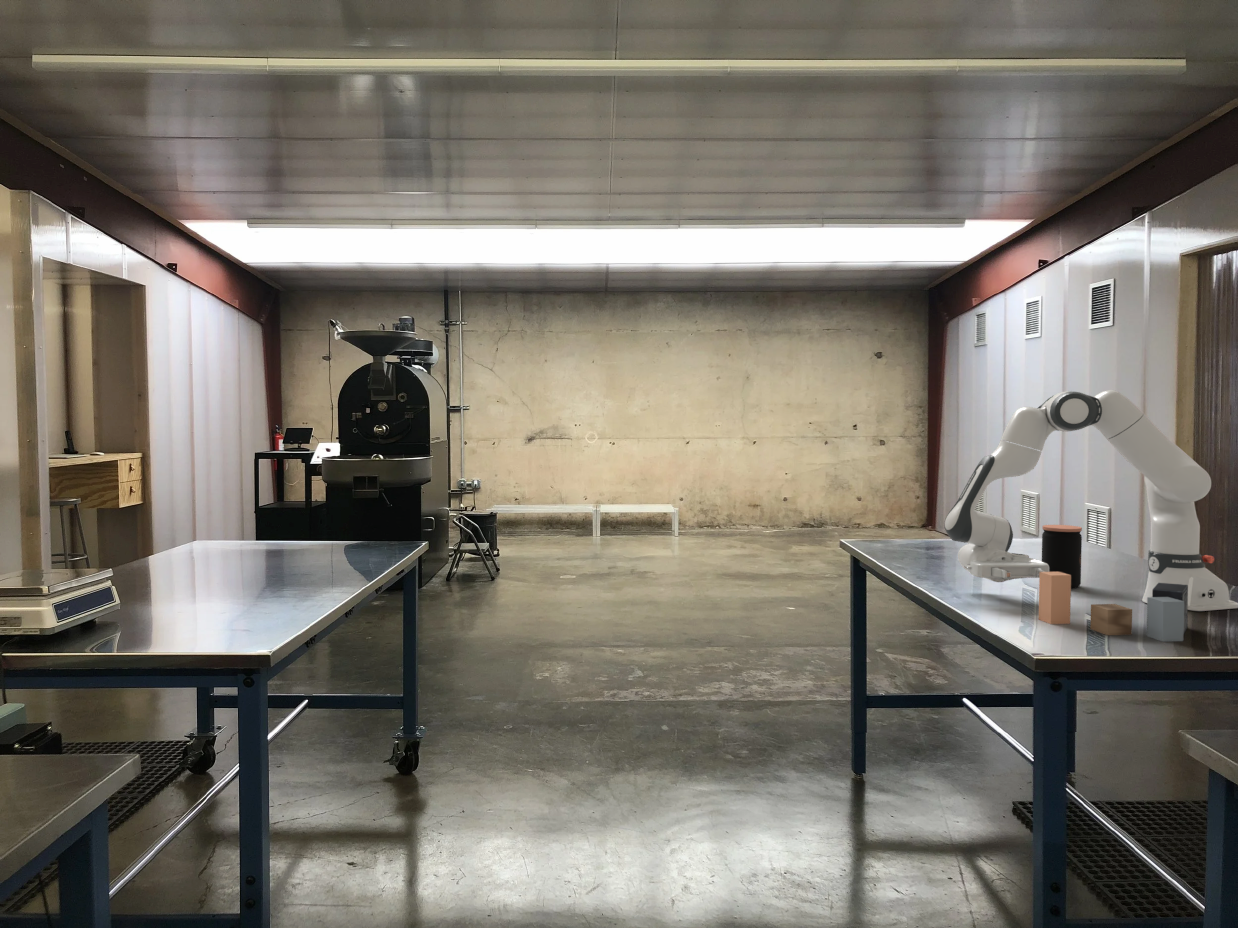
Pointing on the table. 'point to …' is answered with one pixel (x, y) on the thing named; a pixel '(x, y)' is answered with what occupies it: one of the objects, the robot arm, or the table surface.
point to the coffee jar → (1063, 550)
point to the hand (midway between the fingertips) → (1025, 574)
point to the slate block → (1165, 618)
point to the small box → (1173, 595)
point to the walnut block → (1111, 619)
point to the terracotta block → (1054, 597)
